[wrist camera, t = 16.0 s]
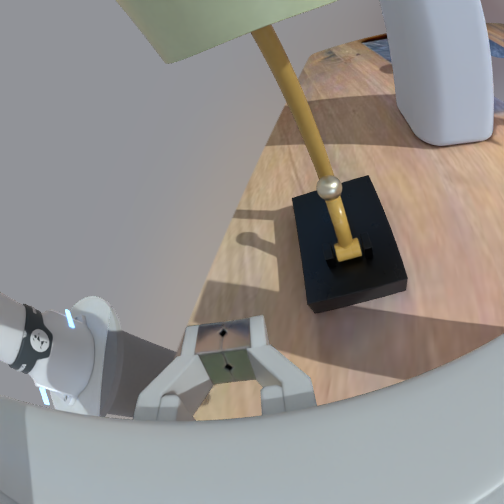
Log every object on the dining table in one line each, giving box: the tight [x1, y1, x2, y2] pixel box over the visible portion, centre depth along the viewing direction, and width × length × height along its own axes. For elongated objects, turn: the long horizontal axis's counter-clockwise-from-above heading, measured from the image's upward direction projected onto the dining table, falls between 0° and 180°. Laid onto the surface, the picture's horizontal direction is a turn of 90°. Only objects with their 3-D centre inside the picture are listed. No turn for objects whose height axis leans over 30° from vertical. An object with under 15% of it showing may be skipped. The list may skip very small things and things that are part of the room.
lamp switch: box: [317, 175, 362, 262], centre depth 24 cm, size 2×2×9 cm
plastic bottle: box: [379, 0, 494, 146], centre depth 22 cm, size 15×15×28 cm
